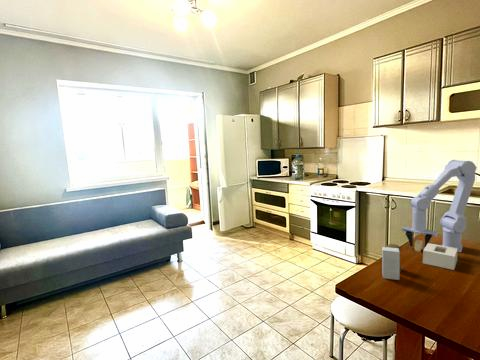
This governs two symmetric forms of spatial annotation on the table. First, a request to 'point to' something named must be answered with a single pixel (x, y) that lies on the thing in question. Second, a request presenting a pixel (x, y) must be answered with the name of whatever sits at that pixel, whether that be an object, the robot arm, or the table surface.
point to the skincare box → (390, 263)
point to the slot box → (440, 256)
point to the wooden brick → (418, 245)
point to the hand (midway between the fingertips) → (418, 247)
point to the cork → (394, 247)
